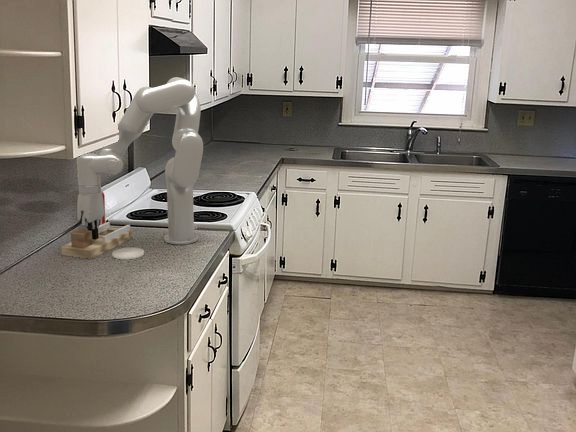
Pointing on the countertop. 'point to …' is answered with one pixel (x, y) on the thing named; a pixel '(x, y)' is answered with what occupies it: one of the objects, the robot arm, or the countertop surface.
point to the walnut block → (81, 238)
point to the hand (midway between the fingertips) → (93, 238)
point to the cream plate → (128, 253)
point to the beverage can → (104, 211)
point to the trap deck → (100, 242)
